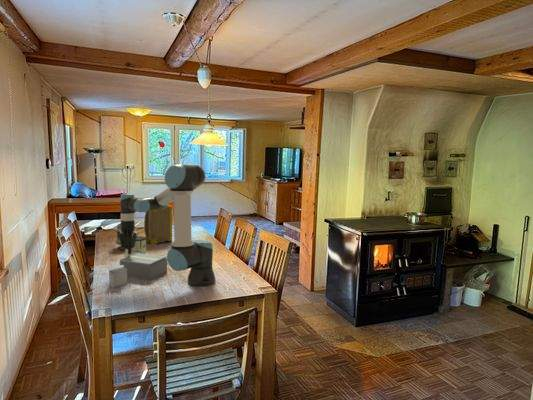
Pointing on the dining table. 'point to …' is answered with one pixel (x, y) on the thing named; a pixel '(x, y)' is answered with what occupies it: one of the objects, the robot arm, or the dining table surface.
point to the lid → (142, 259)
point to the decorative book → (158, 225)
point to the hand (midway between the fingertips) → (128, 259)
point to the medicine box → (117, 277)
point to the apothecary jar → (118, 236)
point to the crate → (146, 270)
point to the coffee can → (139, 245)
